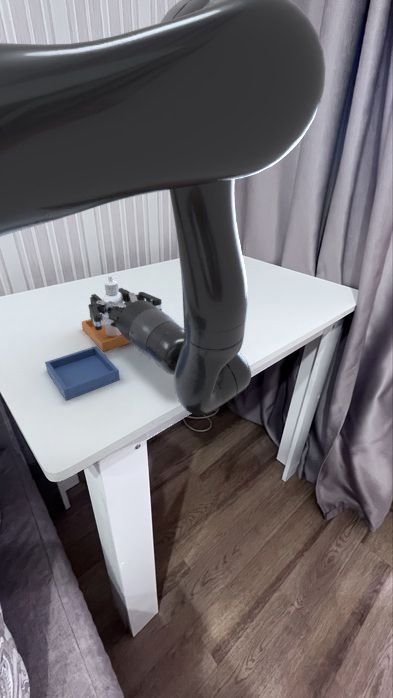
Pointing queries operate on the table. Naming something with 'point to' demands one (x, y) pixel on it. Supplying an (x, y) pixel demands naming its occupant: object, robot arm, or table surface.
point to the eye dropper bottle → (113, 296)
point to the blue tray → (82, 372)
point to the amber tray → (103, 336)
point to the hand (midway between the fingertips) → (107, 295)
